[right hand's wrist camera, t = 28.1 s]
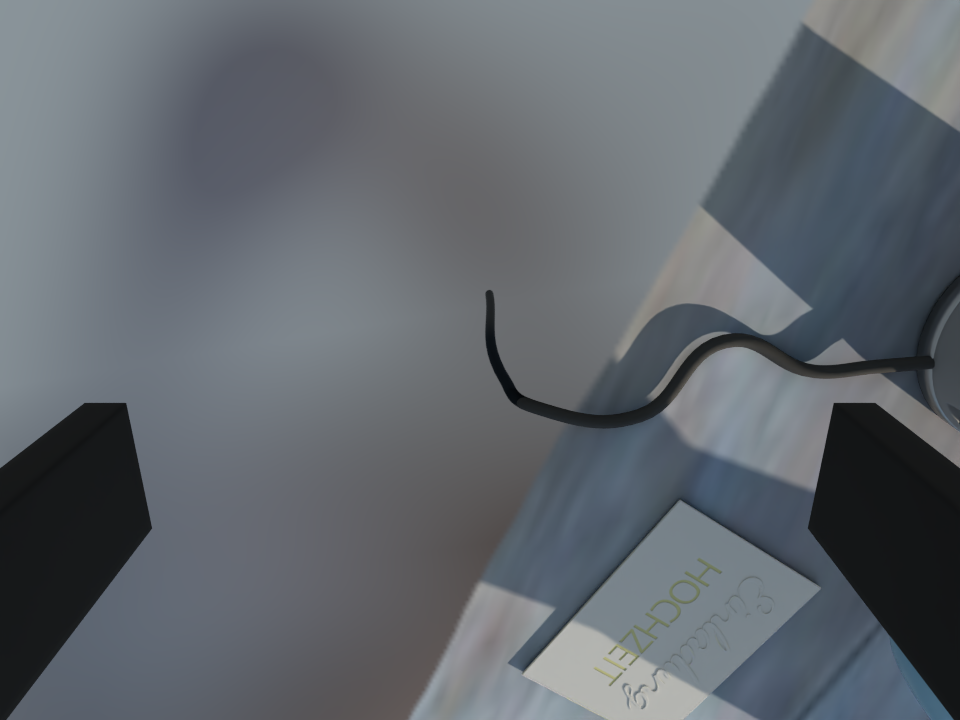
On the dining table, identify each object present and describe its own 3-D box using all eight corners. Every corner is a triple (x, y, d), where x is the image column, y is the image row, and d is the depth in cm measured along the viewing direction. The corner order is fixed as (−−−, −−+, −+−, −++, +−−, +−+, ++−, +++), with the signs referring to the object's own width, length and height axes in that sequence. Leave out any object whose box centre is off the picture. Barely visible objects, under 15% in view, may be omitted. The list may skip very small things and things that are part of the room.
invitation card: (680, 501, 52) (821, 588, 55) (679, 499, 53) (820, 586, 56) (522, 675, 59) (656, 745, 62) (521, 673, 59) (655, 743, 62)
